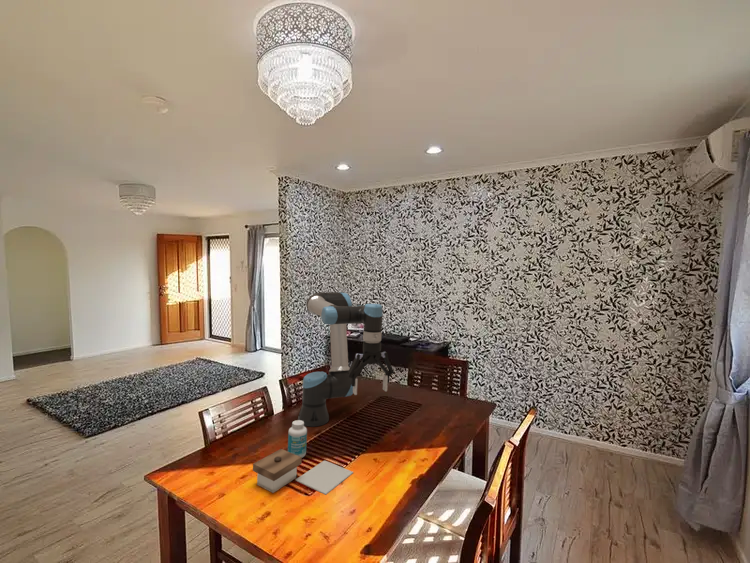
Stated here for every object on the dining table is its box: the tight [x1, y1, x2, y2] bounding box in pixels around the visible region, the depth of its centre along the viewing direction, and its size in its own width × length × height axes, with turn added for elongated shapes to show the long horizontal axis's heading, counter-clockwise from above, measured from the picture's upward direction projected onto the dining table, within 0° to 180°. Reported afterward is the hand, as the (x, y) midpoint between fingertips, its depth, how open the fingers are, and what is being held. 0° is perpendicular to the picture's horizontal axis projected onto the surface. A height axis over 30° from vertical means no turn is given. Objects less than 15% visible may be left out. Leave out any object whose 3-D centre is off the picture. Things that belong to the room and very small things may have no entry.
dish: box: [256, 466, 298, 494], centre depth 128 cm, size 8×11×5 cm
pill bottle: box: [287, 419, 308, 458], centre depth 146 cm, size 8×7×14 cm
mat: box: [295, 460, 354, 495], centre depth 132 cm, size 14×16×1 cm
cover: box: [252, 448, 303, 481], centre depth 128 cm, size 10×13×3 cm
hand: (370, 392), depth 150 cm, fingers open, 13 cm apart
